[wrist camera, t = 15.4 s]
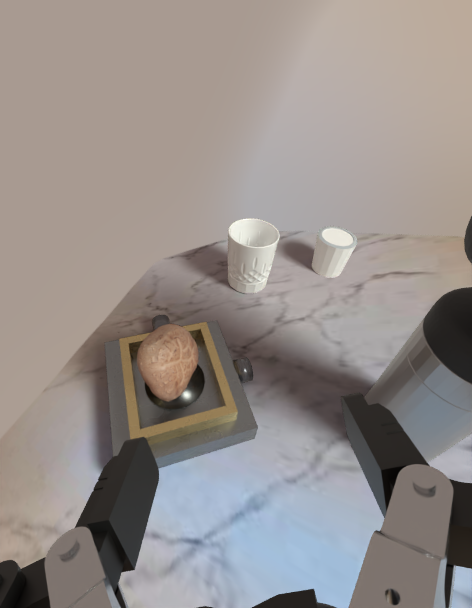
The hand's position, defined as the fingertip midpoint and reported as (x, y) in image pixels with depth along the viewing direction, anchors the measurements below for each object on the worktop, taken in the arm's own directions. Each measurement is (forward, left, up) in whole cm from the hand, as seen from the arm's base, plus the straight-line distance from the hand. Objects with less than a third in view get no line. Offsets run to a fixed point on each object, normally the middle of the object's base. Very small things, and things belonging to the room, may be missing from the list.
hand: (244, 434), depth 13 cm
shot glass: (-31, -34, -25) cm, 52 cm away
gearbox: (0, -17, -25) cm, 30 cm away
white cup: (-15, -34, -25) cm, 45 cm away
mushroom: (+1, -16, -22) cm, 27 cm away
